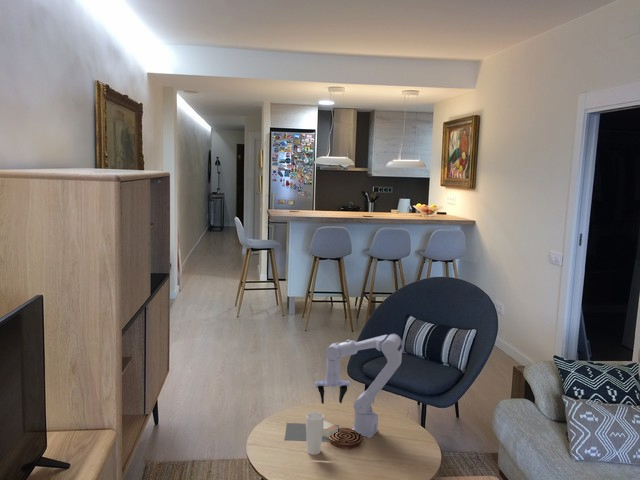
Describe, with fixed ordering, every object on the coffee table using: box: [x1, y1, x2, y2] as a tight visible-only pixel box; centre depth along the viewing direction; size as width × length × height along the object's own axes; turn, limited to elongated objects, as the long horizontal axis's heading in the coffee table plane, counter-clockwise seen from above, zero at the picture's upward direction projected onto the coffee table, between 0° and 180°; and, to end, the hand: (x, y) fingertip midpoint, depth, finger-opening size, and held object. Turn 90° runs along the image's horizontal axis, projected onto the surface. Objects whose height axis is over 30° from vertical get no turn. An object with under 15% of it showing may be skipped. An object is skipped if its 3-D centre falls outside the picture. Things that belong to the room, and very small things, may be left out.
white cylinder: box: [305, 411, 325, 456], centre depth 203 cm, size 7×7×15 cm
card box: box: [322, 420, 338, 438], centre depth 218 cm, size 8×5×3 cm, turn 45°
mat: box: [284, 422, 340, 443], centre depth 218 cm, size 22×14×1 cm, turn 90°
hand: (331, 402), depth 226 cm, fingers open, 7 cm apart
